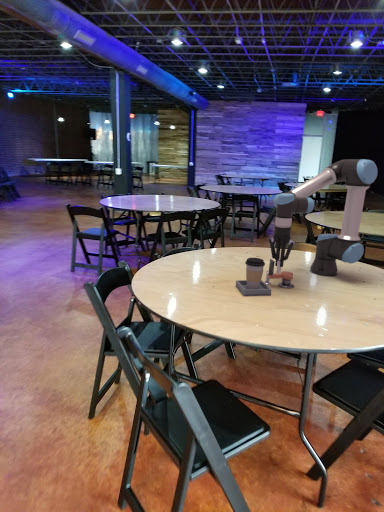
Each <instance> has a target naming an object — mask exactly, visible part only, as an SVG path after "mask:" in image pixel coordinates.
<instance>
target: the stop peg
mask: <svg viewBox="0 0 384 512" xmlns="http://www.w3.org/2000/svg"><path fill="white" fill-rule="evenodd" d="M268 273H269V270H267V271H266V273H265V281H263V282H264V283H265V284H266V285H267V286H268V285H269V286H270V285H271V284H272V282H271V281H270V280H271V279H269V278H268Z"/></svg>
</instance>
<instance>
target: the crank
mask: <svg viewBox="0 0 384 512" xmlns="http://www.w3.org/2000/svg"><path fill="white" fill-rule="evenodd" d="M275 263H276V260H273V258H270V259H269V266H268V271H269V273H268V278H269V279H270V280H273V279H274V280H275V279H277V280H278V279H279V280H280V279H281V280H282V279H286V280H291V281H292V280H293V278H294V273H293V272H292V271H287V270H286V271H285V270H284V271H281V273H279V274H277V273H274V272H275V270H274V269H275Z"/></svg>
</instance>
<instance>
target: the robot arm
mask: <svg viewBox="0 0 384 512" xmlns="http://www.w3.org/2000/svg"><path fill="white" fill-rule="evenodd" d="M377 177H378V167H377V165H376V163H375V162H374V161H373V160H371V159H365V158H364V159H363V158H362V159H361V158H360V159H359V158H357V159H356V158H355V159H350V158H348V159H347V158H346V159H341V160H339V161H336V162H334V163H332V164H330V165H328V166H326V167H325V168H323V169H322V171H321V172H320V173H318V174H317V175H315V176H313V177H311V178H310V179H307V180H306V181H305V182H302V183H301V184H299V185H298V186H295V187H294V188H292V189H290V190H289V191H287V192H285V193H282V192H281V193H278V194H276V195H275V196H274V197H273V200H272V203H273V204H272V205H273V206H274V207H275V208H276V209H275V210H276V212H275V222H274V223H275V224H274V225H275V226H274V234H273V236H272V237H271V238H269V239H268V240H267V241H268V243H269V245H270V246H269V247H270V253H271V259H274V261H275V263H274V267H276V273H275V274H281V272H282V268H283V267H284V262H285V261H287V260H288V259H289V257H290V255H291V251H292V248H293V247H294V245H295V244H296V242H295V241H294V240H293V239H292V238H291V232H292V227H291V226H292V221H293V215H294V214H309V213H311V212H313V210H314V208H315V201H314V199H312V198H311V197H310V196H312V195H314V194H315V193H317V192H319V191H320V190H322V189H324V188H326V187H327V186H329V185H334V184H336V183H340V182H345V184H344V186H345V187H346V189H347V191H346V192H347V193H346V197H345V204H344V211H343V218H342V222H341V223H342V224H341V230H340V234H337V233H322V234H318V237H317V240H316V245H315V246H316V248H315V254H314V260H313V261H312V262H311V265H310V268H309V272H311V273H313V274H315V275H318V276H323V275H324V277H334V276H333V275H335V276H337V275H338V267H337V266H338V265H337V260H338V261H341V262H344V263H347V264H355V263H357V262H359V260H361V258H362V257H363V255H364V251H365V249H364V245H363V244H362V243H361V238H360V236H359V234H360V233H359V231H360V226H361V219H362V216H363V209H364V203H365V198H366V191H367V190H368V189H369V188H370V187H371V184H373V183H374V182H375V180H376V179H377ZM275 243H276V245H275ZM287 244H288V247H287ZM286 247H287V249H286ZM336 274H337V275H336Z"/></svg>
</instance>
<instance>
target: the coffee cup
mask: <svg viewBox="0 0 384 512" xmlns="http://www.w3.org/2000/svg"><path fill="white" fill-rule="evenodd" d="M265 263H266V262H265V260H264V259H263V258H259V257H248V258H246V260H245V265H246V268H245V276H246V280H247V289H259V286H260V282H261V280H262V276H263V273H264V267H265V265H266V264H265Z"/></svg>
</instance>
